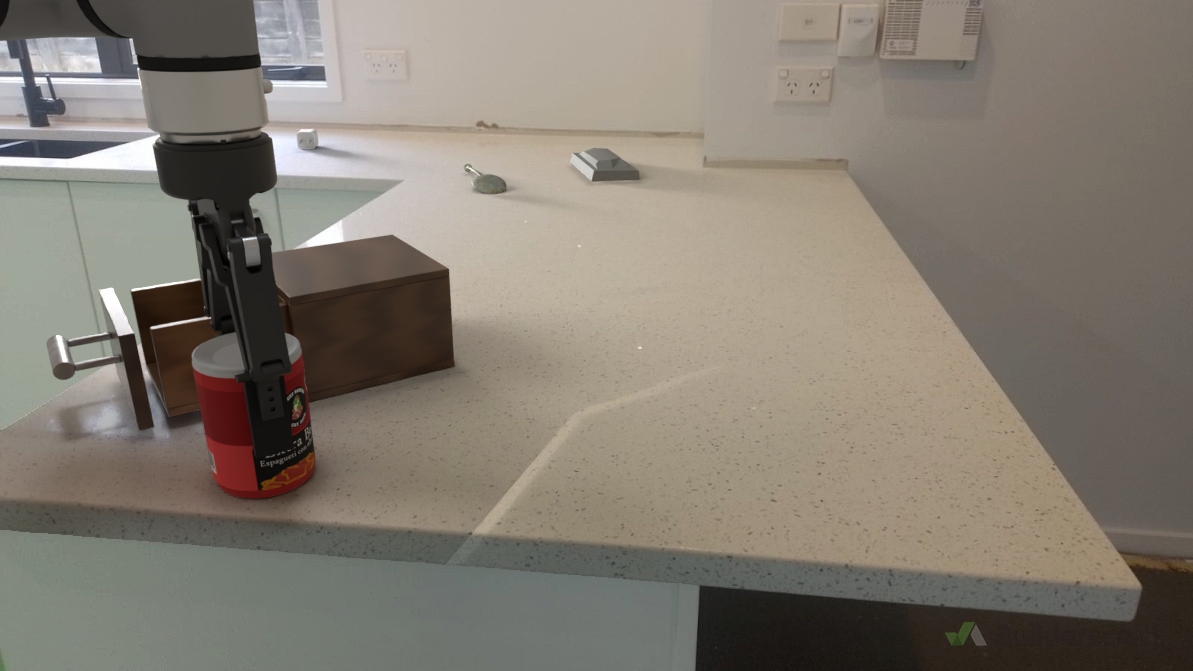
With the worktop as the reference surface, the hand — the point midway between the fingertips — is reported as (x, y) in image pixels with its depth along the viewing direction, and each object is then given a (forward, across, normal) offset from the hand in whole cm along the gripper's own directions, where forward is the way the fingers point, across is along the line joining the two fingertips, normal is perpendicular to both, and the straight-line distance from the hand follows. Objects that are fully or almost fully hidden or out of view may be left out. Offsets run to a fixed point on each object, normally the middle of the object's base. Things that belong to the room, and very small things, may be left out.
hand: (258, 427), depth 66 cm
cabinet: (+4, +18, -14) cm, 23 cm away
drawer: (+3, +18, +3) cm, 19 cm away
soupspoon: (+4, +88, -65) cm, 109 cm away
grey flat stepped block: (+4, +85, -93) cm, 126 cm away
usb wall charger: (+4, +142, -47) cm, 150 cm away
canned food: (+4, 0, 0) cm, 4 cm away
